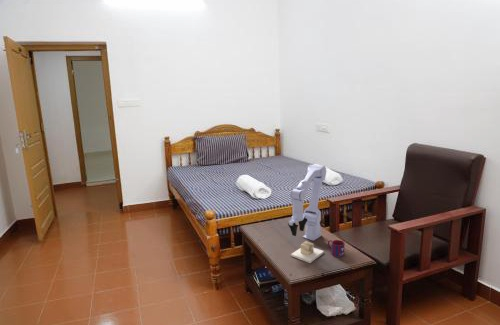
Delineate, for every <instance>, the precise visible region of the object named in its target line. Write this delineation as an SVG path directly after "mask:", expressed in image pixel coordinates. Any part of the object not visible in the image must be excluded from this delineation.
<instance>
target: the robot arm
mask: <svg viewBox="0 0 500 325" xmlns="http://www.w3.org/2000/svg"><path fill="white" fill-rule="evenodd" d="M306 170H307V171H306V172H307V174H306V175H305V177H304V179H303V180H302V179H301V181H300V182H299V183H298V185H297V186H296V187H295V188H293V189H292V190H291V191H290V194H289V195H290V200H291V203H292V216H291V219H290V220H289V221H288V223H287V226H288V227H289V230H290V232H291V235H292V236H293V237H296V236H297V232H298V231H297V230H298V227H299V231H301V232H304V231H305V234H304V235H302V238H305V239H307V240H310V241H316V240H317V239H319V238H320V237H321V236H322V234H321V227H322V226H321V220H322V211H321V210H320V209H319V208H318V207H319V201H320V197H321V196H320V194H321V190H322V184H323V182H324V181H325V179H326V176H327V167H326V166H325V165H318V164H317V165H316V164H311V163H310V164H309V165H308V166H307V169H306ZM312 181H313V185H312V189H311V196H310V200H309V204H308V207H306V208H304V199H305V198H306V194H307V193H306V192H307V191H308V189H309V188H310V183H311V182H312ZM296 223H298V224H296Z"/></svg>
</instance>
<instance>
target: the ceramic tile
mask: <svg viewBox="0 0 500 325" xmlns="http://www.w3.org/2000/svg"><path fill="white" fill-rule="evenodd" d="M324 253H325V251H324V250H321V249H320V248H316V247H314V251H313V253H311V254H310V255H309V256H308V255H305V254H303V253H301V247H300V248H298V249H296V250H295V251H294V252H291V253H290V256H291V257H292V258H295V259H297V260H301V261H303V262H306V263H308V264H311V263H312V262H314V261H315V260H316V259H319V257H320V256H322V255H323V254H324Z"/></svg>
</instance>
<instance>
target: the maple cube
mask: <svg viewBox="0 0 500 325" xmlns="http://www.w3.org/2000/svg"><path fill="white" fill-rule="evenodd" d="M314 246H315V245H314V243H312V242H310V241H307V240H305V241H304V242H301V244H300V248H301V253H303V254H305V255H308V256H309V255H310V254H311V253H313V251H314V248H315V247H314Z"/></svg>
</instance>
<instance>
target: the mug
mask: <svg viewBox="0 0 500 325" xmlns="http://www.w3.org/2000/svg"><path fill="white" fill-rule="evenodd" d="M330 242H331V244H330ZM345 245H346V244H345V242H344V241H343V240H341V239H335V240H331V239H330V240H328V242H327V246H328V248H329V249H330V250H331V255H332V256H333V257H334V258H342V257H344V256H345Z"/></svg>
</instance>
